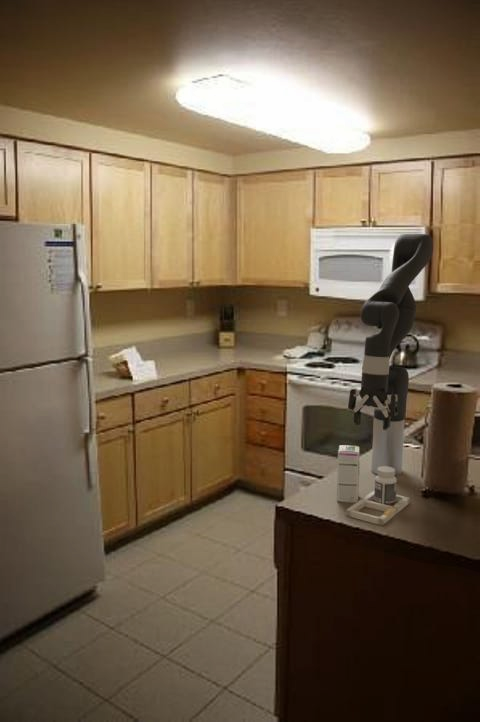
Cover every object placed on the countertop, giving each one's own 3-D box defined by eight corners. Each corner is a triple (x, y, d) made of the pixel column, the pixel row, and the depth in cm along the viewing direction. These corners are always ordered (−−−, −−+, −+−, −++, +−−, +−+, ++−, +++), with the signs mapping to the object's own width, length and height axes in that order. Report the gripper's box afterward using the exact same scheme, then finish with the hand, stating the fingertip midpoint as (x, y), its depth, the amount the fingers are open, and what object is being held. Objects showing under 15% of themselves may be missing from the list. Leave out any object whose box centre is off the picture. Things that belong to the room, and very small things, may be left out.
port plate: (374, 494, 177) (375, 488, 176) (409, 503, 171) (409, 496, 171) (345, 515, 162) (346, 508, 162) (382, 525, 156) (382, 518, 156)
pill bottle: (396, 501, 172) (398, 467, 170) (394, 509, 166) (396, 473, 165) (375, 499, 173) (376, 464, 172) (372, 506, 168) (374, 471, 167)
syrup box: (358, 503, 170) (360, 451, 168) (336, 501, 171) (337, 450, 169) (358, 495, 176) (360, 445, 173) (337, 494, 177) (339, 444, 175)
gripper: (404, 373, 179) (399, 429, 181) (357, 367, 187) (354, 421, 189) (394, 375, 173) (389, 433, 175) (347, 369, 181) (343, 425, 183)
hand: (371, 427), depth 182 cm, fingers open, 8 cm apart
